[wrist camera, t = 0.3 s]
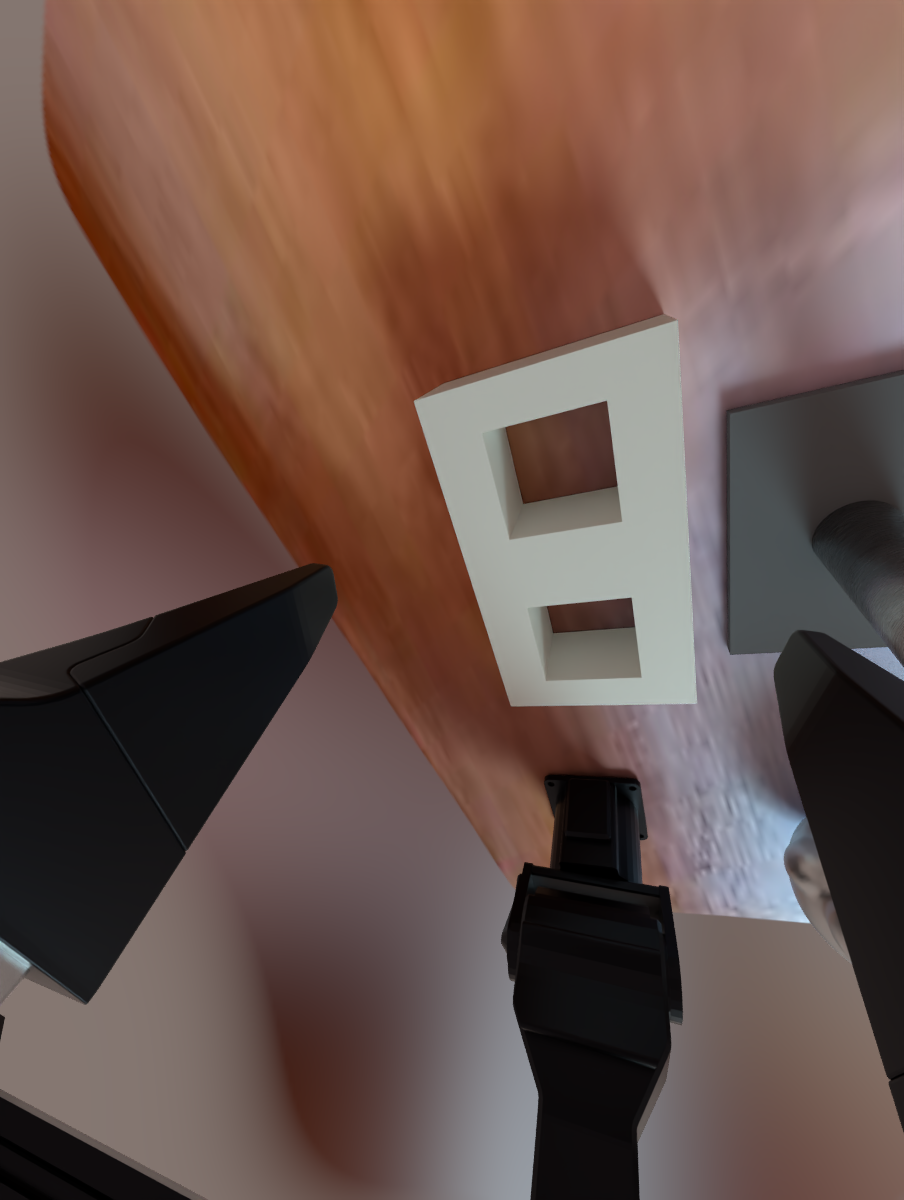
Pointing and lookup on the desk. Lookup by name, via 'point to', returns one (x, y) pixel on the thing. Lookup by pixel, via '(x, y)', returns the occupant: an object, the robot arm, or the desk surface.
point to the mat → (804, 505)
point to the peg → (868, 563)
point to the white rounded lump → (813, 887)
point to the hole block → (576, 520)
